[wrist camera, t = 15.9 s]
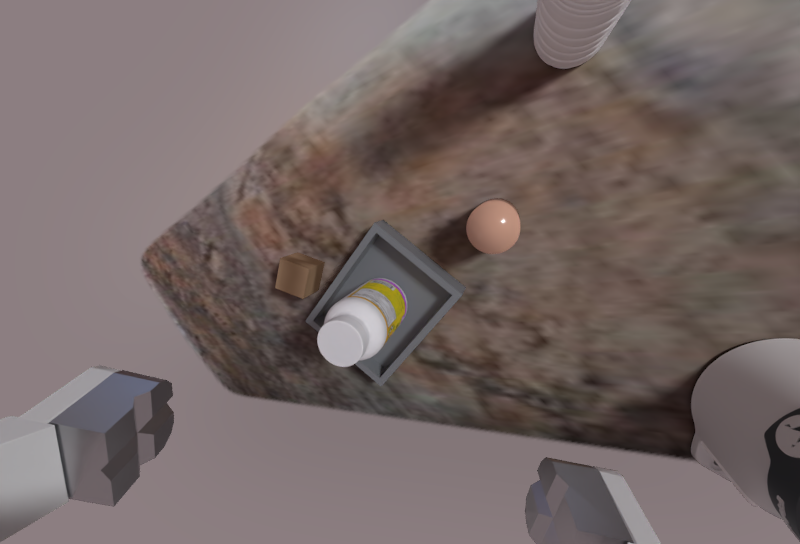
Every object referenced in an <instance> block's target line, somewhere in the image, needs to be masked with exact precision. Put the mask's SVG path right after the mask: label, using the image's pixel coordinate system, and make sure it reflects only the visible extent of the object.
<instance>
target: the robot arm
mask: <svg viewBox="0 0 800 544" xmlns="http://www.w3.org/2000/svg"><path fill="white" fill-rule="evenodd" d="M172 396H173V393H172V383H170V382H169V381H167V380H163V379H159V378H155V377H150V376H146V375H142V374H137V373H133V372H129V371H124V370H122V371H121V370H117V369H112V368H108V367H105V366H96V367H91V368H90V369H88V370H87V371H85V372H84V373H82V374H81V375H79V376H78V377H77V378H75V379H74V380H72V381H71V382H70V383H68V384H66V385H65V386H64V387H62V388H61V389H59V390H58V391H56V392H55V393H53V394H52V395H50V396H49V397H48V398H46V399H45V400H43V401H42V402H40V403H39V404H38V405H36V406H35V407H33V408H32V409H30V410H29V411H27V412H26V413H25V414H23V415H22V416H20V417H13V416H9V417H6V418H3V419H0V542H1V541H3V540H5V539H6V538H8V537H10V536H11V535H13V534H15V533H16V532H18V531H20V530H22V529H23V528H25V527H27V526H28V525H30V524H31V523H33V522H35V521H37V520H38V519H40V518H42V517H44V516H45V515H47V514H49V513H50V512H52V511H54V510H55V509H57V508H59V507H61V506H62V505H64V504H66V503H67V502H68V501H69V499H73V500H79V501H85V502H90V503H96V504H102V505H108V506H115V505H116V503H117V502H118V501H119V500H120V499H121V498H122V496H123V495H124V494H125V493H126V492H127V491H128V489H129V488H130V487H131V486H132V485H133V483H134V482H135V481H136V480H137V479H138V478H139V476H140V465H142V464H144V463H146V462H148V461H150V460H152V459H154V458H155V457H156V456H157V455H158V454H159V452H160V451H161V450H162V449H163V448H164V446H165V444H166V442H167V440H168V438H169V436H170V434H171V431H172V427H173V423H174V412H173V411H172V410H171V408H170V407H169V406H168V404H167V402H168V400H169V399H170V398H171V397H172ZM691 411H692V416H693V420H694V424H695V435H694V438H693V441H692V445H691V454H692V456H693V457H694V458H695V459H696V461H697V462H698V463H699V464H701V465H702V466H704V467H706V468H708V469H710V470H711V471H713V472H715V473H717V474H718V475H720V476H722V477H723V478H725V479H727V480H729V481H731V482H732V483H733V484H734V486H735V487H736V488H737V489H738V490H739V492H740V493H741V494H742V495H743V497H744V498H745V499H746V500H747V501H748V502H749V503H750V504H751V505H753V506H759V507H760V508H762V509H763V510H765V511H767V512H769V513H770V514H772V515H774V516H776V517H778V518H780V519H782V520H784V522H785V523H786V525H787V526H788V528H789V529H790V530H791V531H792V533H793V534H794V535H795V536H796V538H797V539H798V540H799V541H800V339H787V338H782V339H768V340H761V341H756V342H752V343H748V344H745V345H742V346H740V347H737V348H735V349H733V350H731V351H729V352H727V353H725V354H724V355H722V356H720V357H719V358H718V359H716V360H715V361H714V362H712V363H711V364H710V365H709V366H708V367H707V368H706V369H705V370H704V372H703V373H702V374H701V376H700V377H699V379H698V381H697V382H696V385H695V387H694V390H693V393H692V399H691ZM714 460H715V461H714ZM537 471H538V474H539V477H540V480H539V481H537V482H536V483H534V484H533V485H531V487H530V489H529V492H528V495H527V498H526V508H525V513H526V524H527V528H528V532H529V535H530V537H531V538H532V539H533V540H534V542H535V543H536V544H661V543H660V541H659V539H658V538H657V536H656V534H655V532H654V530H653V529H652V527H651V525H650V523H649V522H648V520H647V518H646V516H645V515H644V513H643V511H642V509H641V507H640V506H639V504H638V502H637V500H636V498H635V497H634V495H633V493H632V491H631V489H630V488H629V486H628V484H627V482H626V481H625V479H624V477H623V476H622V475H621V474H620V473H619V472H618V471H615V470H609V469H605V468H599V467H594V466H593V467H591V466H587V465H582V464H577V463H572V462H567V461H562V460H557V459H552V458H547V457H546V458H545V459H544V460H542V462H541V463H540V466H539V468H538V470H537Z"/></svg>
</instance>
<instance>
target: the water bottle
mask: <svg viewBox="0 0 800 544" xmlns="http://www.w3.org/2000/svg"><path fill="white" fill-rule="evenodd" d="M630 1H631V0H538V2H537V10H536V18H535V25H534V34H533V39H534V46H535V49H536V51H537V53H538V55H539V57H540V58H541V59H542V60H543V61H544V62H545V63H546V64H548V65H551V66H552V67H555V68H560V69H568V68H572V67H576V66H579V65H581V64H583V63H585V62H586V61H588V60H589V59H591V58H592V57H593V56H594V55H595V54H596V53H597V52H598V50H599V49H600V48H601V46H602V45H603V43H604V42H605V40H606V38H607V37H608V35H609V34H610V32H611V31H612V29H613V28H614V26H615V25H616V23H617V21H618V20H619V18H620V17H621V15H622V14H623V12H624V11H625V9H626V8H627V6H628V5H629V3H630Z"/></svg>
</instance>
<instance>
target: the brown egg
mask: <svg viewBox="0 0 800 544" xmlns="http://www.w3.org/2000/svg"><path fill="white" fill-rule="evenodd" d="M466 231H467V236H468V238H469V241H470V242H471V244H472V245H473V246H474V247H475V248H476V249H478V250H479V251H481V252H484V253H488V254H498V253H502V252H504V251H506V250H508V249H509V248H511V247H512V246H513V245H514V244H515V242H516V241H517V239H518V237H519V234H520V218H519V213H518V211H517V209H516V208H515V206H514V205H513V204H512V203H510V202H509V201H507V200H504V199H500V198H494V199H490V200H487V201H485V202H483V203H482V204H481V205H479V206H478V207H477V208H476V209H474V210H473V212H472V213H471V214H470V216H469V218H468V221H467V226H466Z"/></svg>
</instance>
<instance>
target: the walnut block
mask: <svg viewBox="0 0 800 544" xmlns="http://www.w3.org/2000/svg"><path fill="white" fill-rule="evenodd" d="M324 263H325V262H322V261H320V260H317V259H314V258H311V257H309V256H306V255H303V254H300V253H295V254H292V255H289V256H286V257H283V258H280V263H279V269H278V274H277V280H276V286H275V288H276V289H279V290H281V291H284V292H286V293H289V294H291V295H294V296H297V297H299V298H302V299H304V298H306V297H308V296H309V295H311V294H313V293H315V292H316V291H318V290H319V286H320V281H321V277H322V272H323V267H324Z"/></svg>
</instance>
